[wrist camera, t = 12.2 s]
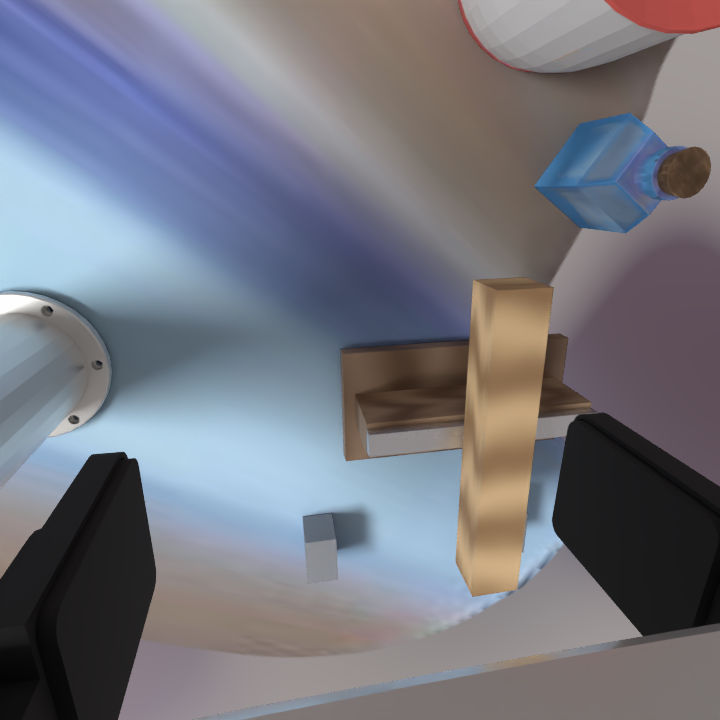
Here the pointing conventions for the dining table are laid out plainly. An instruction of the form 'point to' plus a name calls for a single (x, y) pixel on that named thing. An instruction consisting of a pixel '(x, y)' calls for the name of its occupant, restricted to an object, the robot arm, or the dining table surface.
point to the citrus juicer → (579, 29)
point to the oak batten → (500, 428)
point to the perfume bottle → (620, 174)
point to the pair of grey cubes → (327, 547)
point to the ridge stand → (432, 398)
